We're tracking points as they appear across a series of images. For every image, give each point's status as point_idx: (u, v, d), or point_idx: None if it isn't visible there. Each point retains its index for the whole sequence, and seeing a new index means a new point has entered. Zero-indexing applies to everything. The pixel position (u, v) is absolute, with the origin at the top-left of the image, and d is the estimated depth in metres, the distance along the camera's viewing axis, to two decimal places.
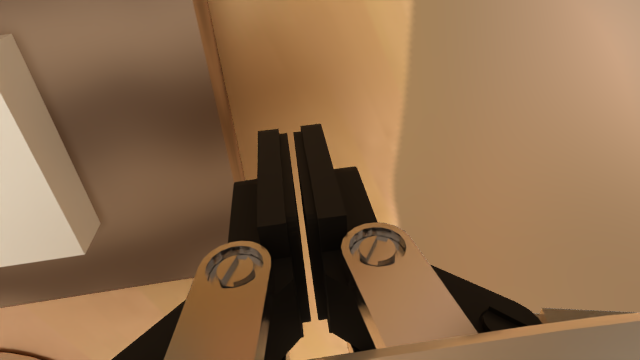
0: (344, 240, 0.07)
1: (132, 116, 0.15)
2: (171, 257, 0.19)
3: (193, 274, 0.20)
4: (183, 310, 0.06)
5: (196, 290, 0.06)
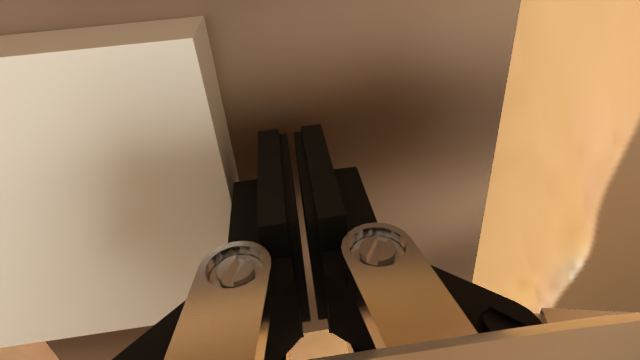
0: (344, 240, 0.07)
1: (394, 127, 0.12)
2: None
3: None
4: (182, 310, 0.06)
5: (196, 290, 0.06)
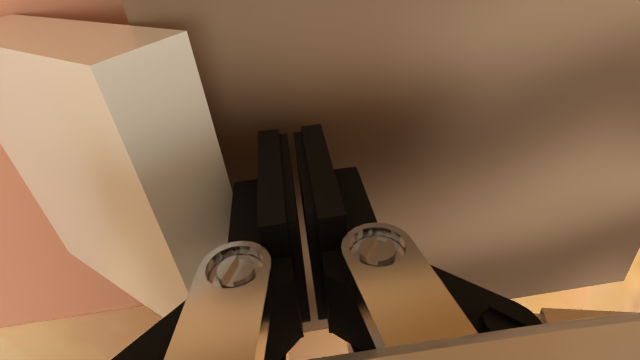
0: (344, 240, 0.07)
1: (617, 94, 0.12)
2: (547, 268, 0.16)
3: (557, 288, 0.17)
4: (182, 310, 0.06)
5: (196, 290, 0.06)
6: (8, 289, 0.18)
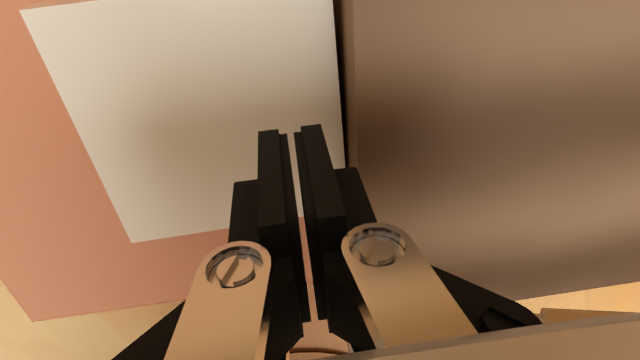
0: (344, 240, 0.07)
1: None
2: None
3: None
4: (182, 310, 0.06)
5: (196, 290, 0.06)
6: (125, 271, 0.18)
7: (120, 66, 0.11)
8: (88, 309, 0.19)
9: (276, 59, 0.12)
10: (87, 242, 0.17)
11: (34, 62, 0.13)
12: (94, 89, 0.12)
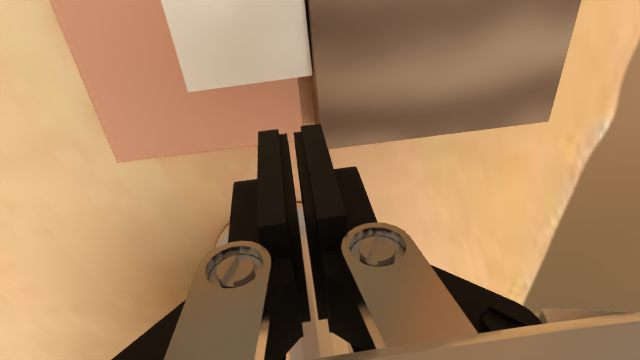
0: (344, 240, 0.07)
1: None
2: (502, 107, 0.27)
3: (509, 123, 0.28)
4: (182, 310, 0.06)
5: (196, 290, 0.06)
6: (177, 126, 0.29)
7: None
8: (152, 155, 0.30)
9: None
10: (156, 102, 0.28)
11: None
12: None
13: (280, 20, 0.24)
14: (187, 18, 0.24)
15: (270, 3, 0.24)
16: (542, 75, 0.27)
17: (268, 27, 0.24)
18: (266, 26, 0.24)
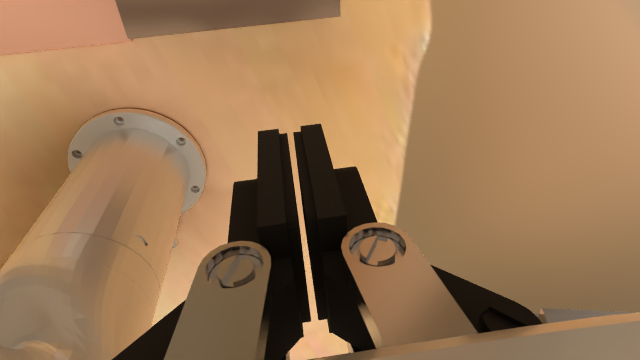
0: (344, 240, 0.07)
1: None
2: (291, 0, 0.30)
3: (302, 17, 0.31)
4: (182, 310, 0.06)
5: (196, 290, 0.06)
6: (5, 23, 0.32)
7: None
8: None
9: None
10: None
11: None
12: None
13: None
14: None
15: None
16: None
17: None
18: None
